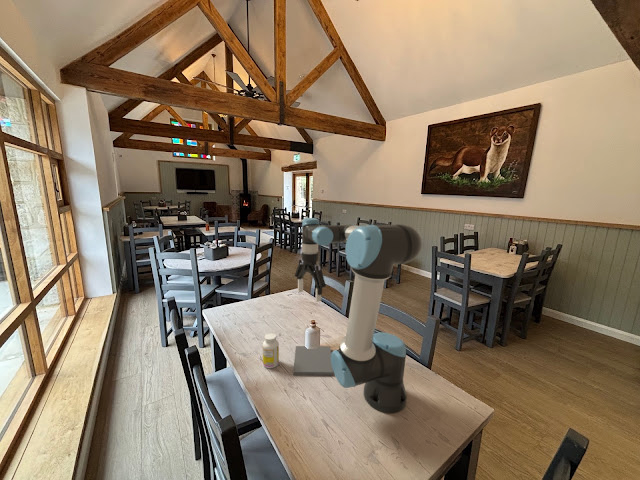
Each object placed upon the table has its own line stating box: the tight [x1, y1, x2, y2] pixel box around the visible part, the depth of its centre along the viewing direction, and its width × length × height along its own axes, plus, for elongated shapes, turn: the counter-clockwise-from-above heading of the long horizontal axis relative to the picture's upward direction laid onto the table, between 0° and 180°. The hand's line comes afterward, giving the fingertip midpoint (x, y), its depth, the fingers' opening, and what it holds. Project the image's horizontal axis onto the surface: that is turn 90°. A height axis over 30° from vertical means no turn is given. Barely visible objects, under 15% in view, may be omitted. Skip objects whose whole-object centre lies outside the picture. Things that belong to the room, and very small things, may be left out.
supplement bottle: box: [262, 333, 280, 369], centre depth 112 cm, size 7×7×13 cm
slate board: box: [292, 345, 334, 376], centre depth 116 cm, size 18×16×2 cm
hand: (309, 296), depth 125 cm, fingers open, 13 cm apart
